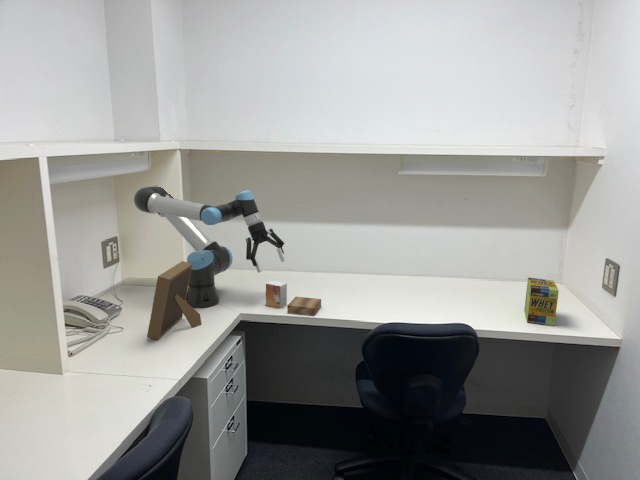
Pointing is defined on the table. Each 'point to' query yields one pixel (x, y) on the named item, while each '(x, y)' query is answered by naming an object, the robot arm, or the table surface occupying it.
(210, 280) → the robot arm
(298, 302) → the plinth
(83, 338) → the table surface
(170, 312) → the photo frame
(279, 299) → the small box
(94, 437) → the table surface
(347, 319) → the table surface
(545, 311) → the protein box
